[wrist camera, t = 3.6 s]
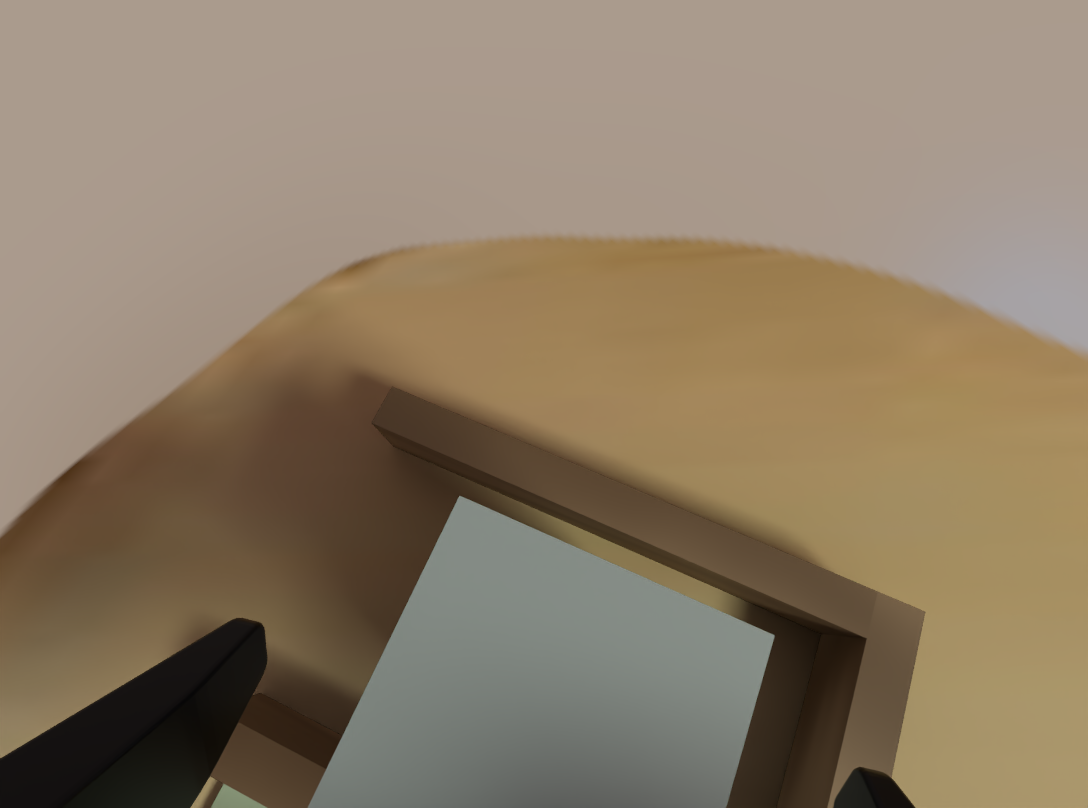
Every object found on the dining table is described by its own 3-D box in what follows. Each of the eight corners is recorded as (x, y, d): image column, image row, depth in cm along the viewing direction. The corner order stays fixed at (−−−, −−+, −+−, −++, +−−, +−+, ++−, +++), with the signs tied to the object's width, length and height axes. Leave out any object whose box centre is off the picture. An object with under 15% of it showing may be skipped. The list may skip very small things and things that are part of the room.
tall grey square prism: (588, 783, 15) (654, 1060, 6) (438, 708, 16) (285, 853, 7) (646, 619, 17) (774, 635, 7) (506, 555, 17) (459, 495, 8)
